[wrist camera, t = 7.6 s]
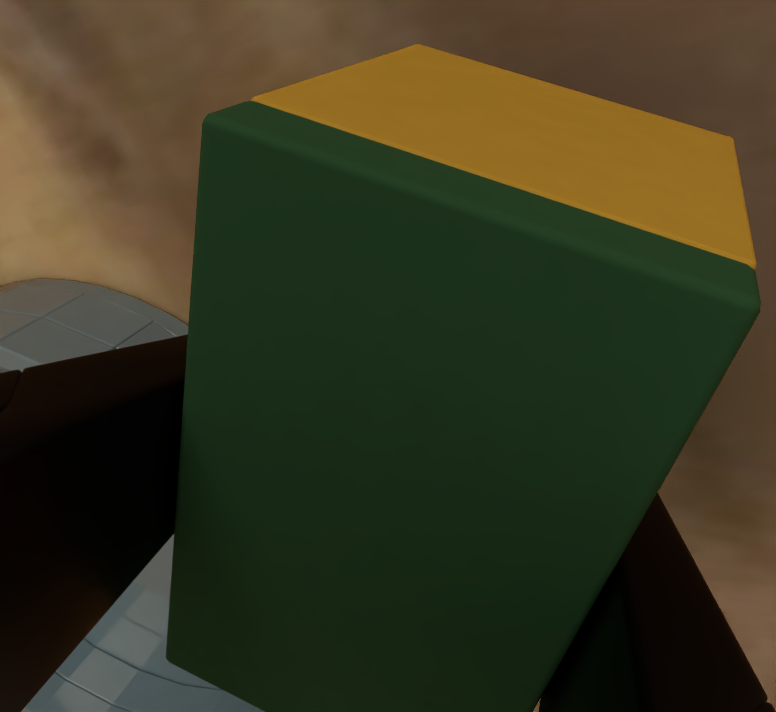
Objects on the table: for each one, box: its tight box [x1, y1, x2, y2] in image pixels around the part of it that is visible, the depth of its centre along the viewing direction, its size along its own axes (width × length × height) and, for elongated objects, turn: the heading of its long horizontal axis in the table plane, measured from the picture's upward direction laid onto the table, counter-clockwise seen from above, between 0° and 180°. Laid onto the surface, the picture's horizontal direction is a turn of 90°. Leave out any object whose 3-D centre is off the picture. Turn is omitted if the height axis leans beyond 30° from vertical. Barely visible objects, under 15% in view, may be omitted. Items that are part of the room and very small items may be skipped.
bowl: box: [0, 279, 265, 712], centre depth 21 cm, size 15×15×4 cm
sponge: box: [166, 44, 761, 712], centre depth 10 cm, size 8×4×6 cm, turn 167°
